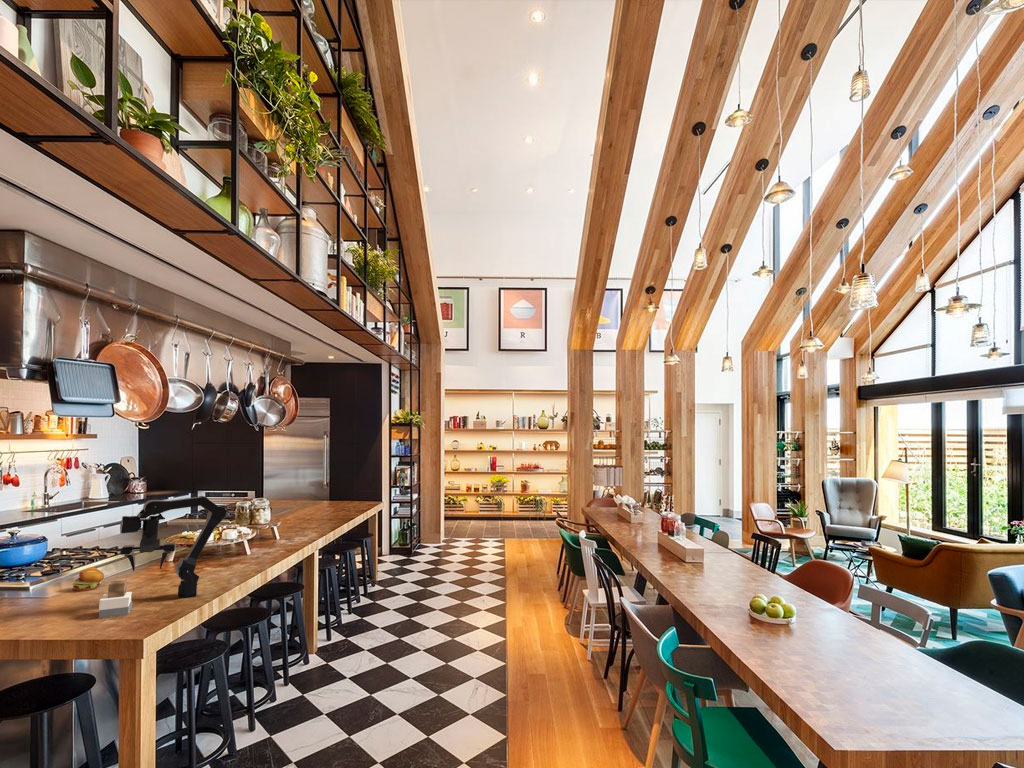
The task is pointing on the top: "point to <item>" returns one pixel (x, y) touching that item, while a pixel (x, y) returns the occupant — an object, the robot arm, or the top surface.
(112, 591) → the walnut block
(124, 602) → the tower top slab
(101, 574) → the cheeseburger
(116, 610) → the tower base slab
